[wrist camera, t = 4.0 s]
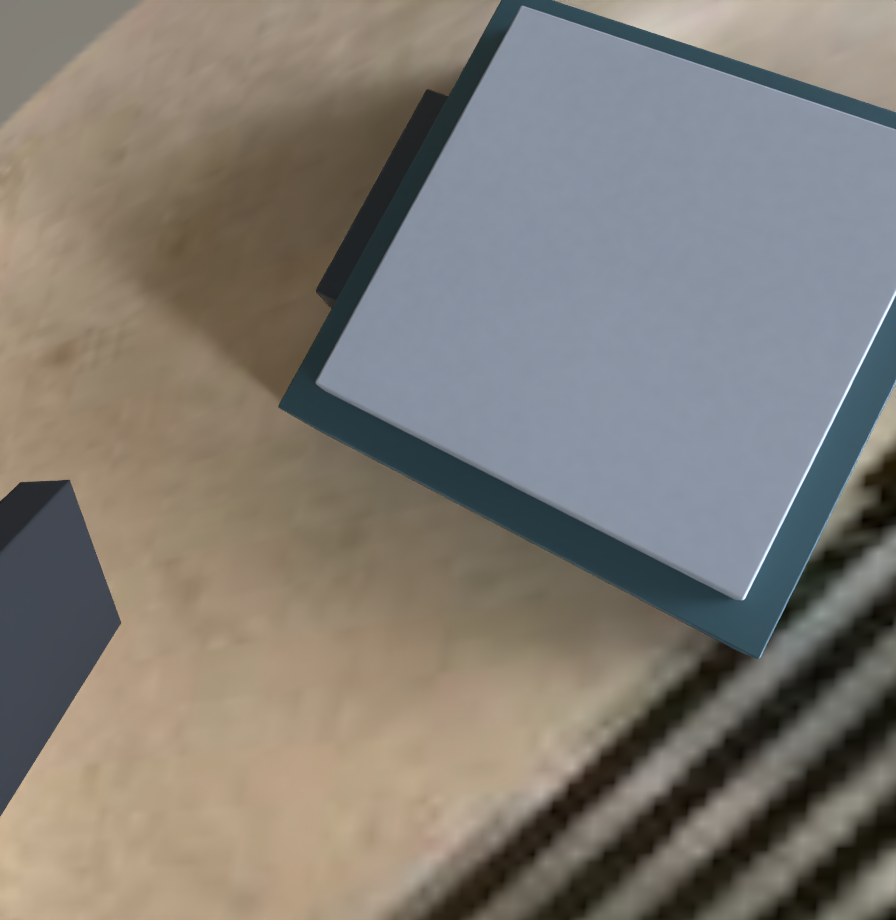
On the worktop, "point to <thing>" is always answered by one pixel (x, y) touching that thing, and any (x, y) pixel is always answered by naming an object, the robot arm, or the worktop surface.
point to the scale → (623, 309)
